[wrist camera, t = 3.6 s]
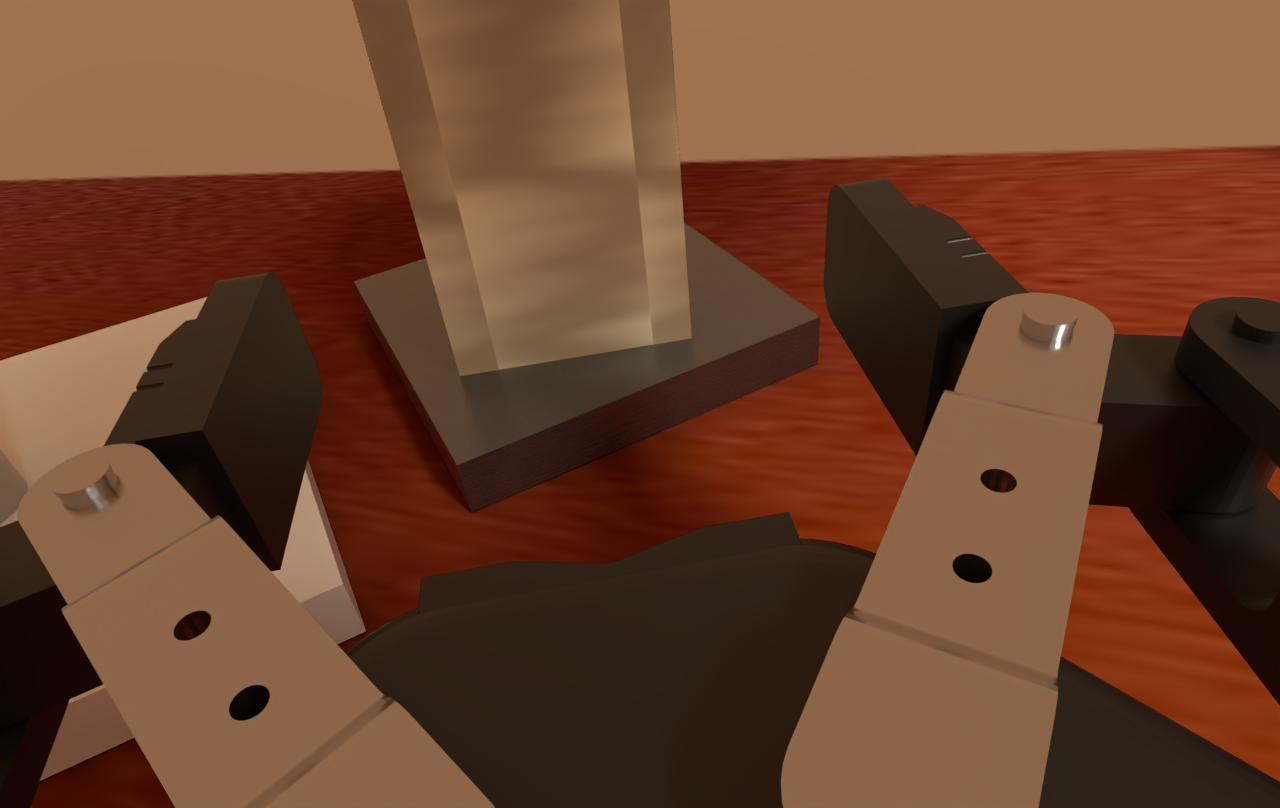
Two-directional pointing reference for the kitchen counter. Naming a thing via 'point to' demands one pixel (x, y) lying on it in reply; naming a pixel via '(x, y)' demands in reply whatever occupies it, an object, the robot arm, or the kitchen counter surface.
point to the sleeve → (538, 170)
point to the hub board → (81, 421)
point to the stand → (585, 374)
